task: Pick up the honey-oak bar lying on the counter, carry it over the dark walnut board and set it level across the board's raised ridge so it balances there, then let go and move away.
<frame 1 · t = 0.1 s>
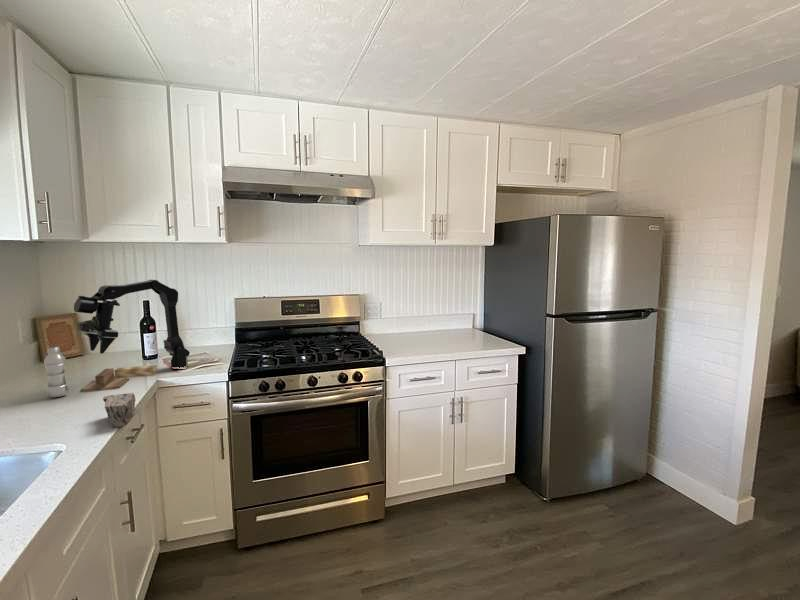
hand: (96, 351, 176), 15 cm above the worktop, tool pointing down, fingers open, 9 cm apart
plastic bottle: (58, 397, 167), on the worktop
oak bar: (136, 376, 195), on the worktop
stone block: (118, 420, 144), on the worktop
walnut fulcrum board: (105, 385, 180), on the worktop
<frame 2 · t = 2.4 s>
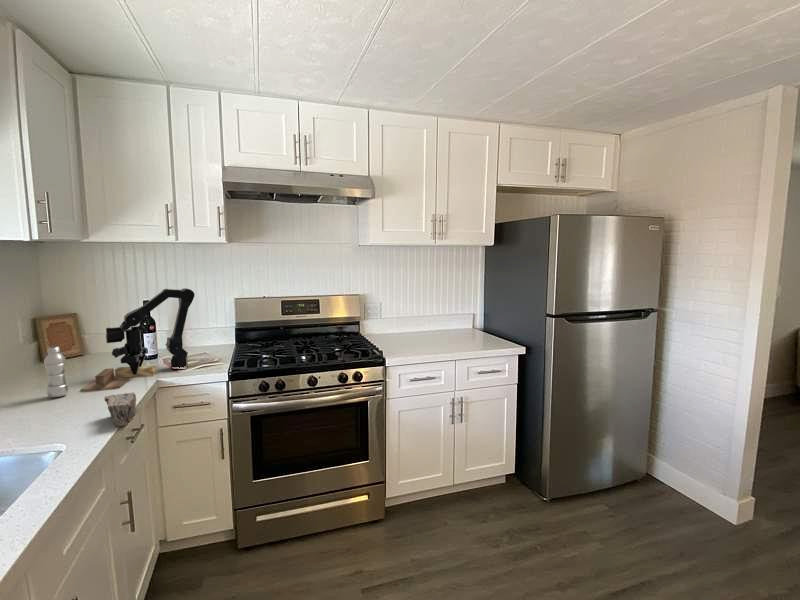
hand: (136, 373, 195), 1 cm above the worktop, tool pointing down, fingers closed on oak bar, 4 cm apart
oak bar: (136, 375, 195), on the worktop, touching gripper
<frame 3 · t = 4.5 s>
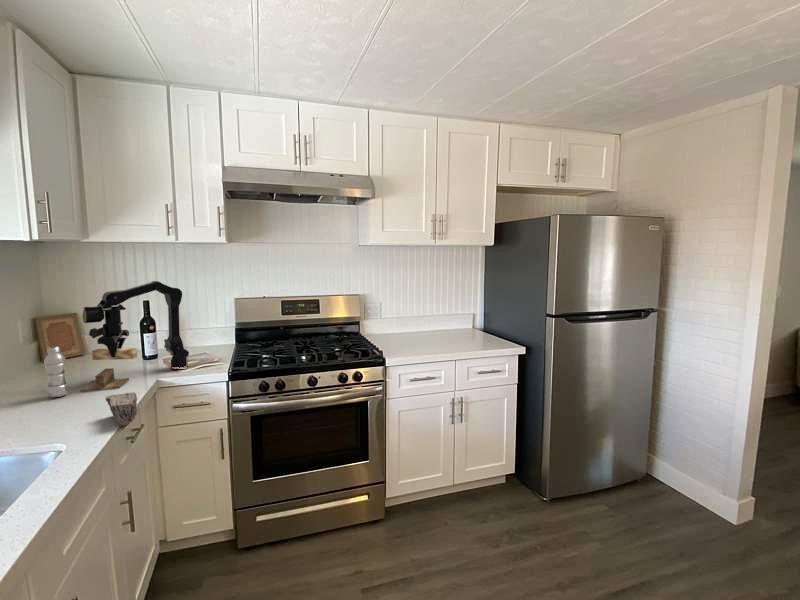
hand: (115, 355, 184), 12 cm above the worktop, tool pointing down, fingers closed on oak bar, 4 cm apart
oak bar: (115, 358, 184), point 10 cm above the worktop, touching gripper
when the fingers open (8 cm above the worktop, at t = 5.9 s): oak bar stays where it is, resting on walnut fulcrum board.
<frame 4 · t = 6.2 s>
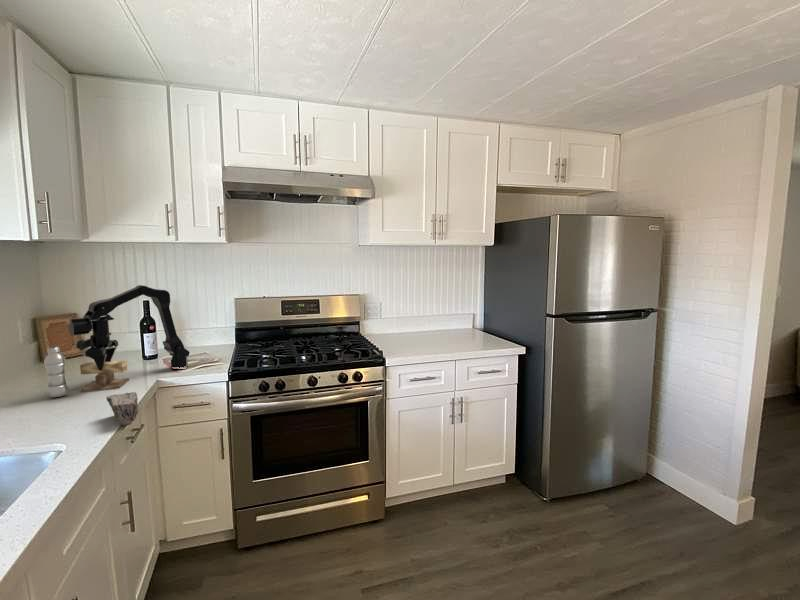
hand: (104, 367, 179), 8 cm above the worktop, tool pointing down, fingers open, 7 cm apart
oak bar: (104, 372, 179), point 6 cm above the worktop, touching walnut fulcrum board
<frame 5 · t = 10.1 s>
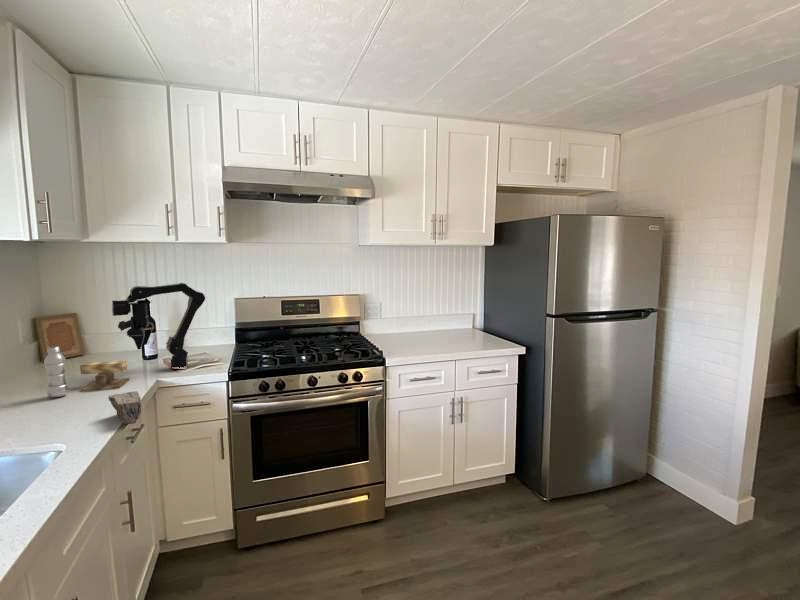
hand: (142, 346, 195), 13 cm above the worktop, tool pointing down, fingers open, 9 cm apart
at the end: oak bar inside the target area (0.1 cm from its centre), point 6.0 cm above the worktop; oak bar tilted 0°; oak bar touching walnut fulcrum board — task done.
